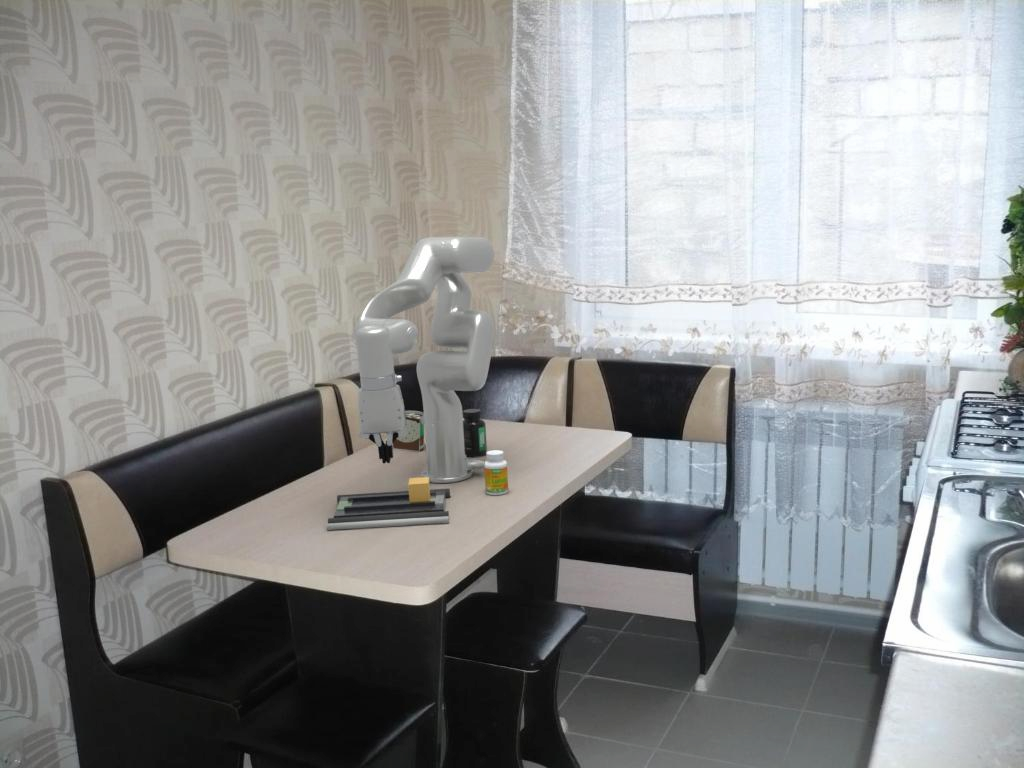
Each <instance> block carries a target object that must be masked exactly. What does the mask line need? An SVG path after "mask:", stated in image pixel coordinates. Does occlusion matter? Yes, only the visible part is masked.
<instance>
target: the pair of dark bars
mask: <svg viewBox="0 0 1024 768" xmlns="http://www.w3.org/2000/svg"><path fill="white" fill-rule="evenodd" d="M450 489H451V488H449V487H448V488H436V489H435V488H433V489H430V492H433V491H445V496H446V498H451V491H450ZM400 493H409V490H403V491H402V490H400V491H385V492H368V493H356V494H355V493H353V494H351V493H350V494H337V495H336V496H337V497H336V498H337V499H336V502H337V505H338V504H339V501H340V498H341V497H350V496H367V495H383V494H400ZM449 523H450V513H449V510H445V511H439V512H423V513H406V514H390V515H373V516H357V517H340V518H334V517H328V518H327V523H326V530H327V531H336V530H352V529H353V530H354V529H355V530H356V529H369V528H382V527H383V528H386V527H398V526H400V527H401V526H417V525H418V526H419V525H433V524H434V525H435V524H449Z"/></svg>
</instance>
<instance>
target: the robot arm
mask: <svg viewBox="0 0 1024 768" xmlns="http://www.w3.org/2000/svg"><path fill="white" fill-rule="evenodd" d="M494 249H495V248H494V246H493V244H492V243H491V241H490V240H489V239H487V238H486V237H484V236H482V237H481V236H475V237H474V236H473V237H469V236H468V237H466V236H438V237H437V236H432V237H431V236H430V237H425V238H422V239H420V240H419V241H418V242H416V244H415V245H414V247H413V248H412V250H411V253H410V255H409V257H408V259H407V261H406V263H405V265H404V267H403V269H402V271H401V273H400V274H399V277H398V279H397V280H396V281H395V282H394V283H392V284H390V285H389V286H387V287H386V288H384V289H383V290H382V291H380V292H379V293H378V294H376V295H375V296H374V297H373V298H372V299H370V300H369V301H368V302H367V304H366V305H365V306H364V308H363V310H362V312H361V315H360V316H359V319H358V321H357V323H356V326H355V330H354V340H355V344H356V351H357V361H358V363H357V364H358V371H359V377H360V379H359V380H360V388H358V393H357V396H358V397H357V412H358V414H357V415H358V416H357V417H358V425H359V426H358V427H359V438H360V439H362V440H370V441H371V442H372V443H373V444H375V445H376V446H377V448H378V449H377V450H378V458H379V460H382V461H381V462H382V464H383V465H385V464H386V463H387V464H390V463H391V460H392V459H393V458H394V451H393V450H394V449H393V446H392V443H393V442H394V441H395V440H396V439H397V438H398V437H400V436H403V435H406V434H407V433H408V430H407V427H406V417H405V411H406V409H405V404H404V403H405V402H404V399H403V393H402V391H401V386H400V385H399V384H397V383H399V382H402V379H403V378H402V375H401V374H400V375H399V374H396V373H395V365H394V359H393V358H394V357H393V356H394V355H396V354H397V355H398V354H403V353H407V352H409V351H411V350H412V349H413V348H414V347H415V346H416V345H417V342H418V341H419V330H418V327H417V325H416V324H415V323H414V322H412V321H411V320H409V319H406V318H405V319H404V318H392V317H394V316H395V315H398V314H400V313H402V312H405V311H408V310H411V309H414V308H416V307H418V306H421V305H424V304H425V303H427V302H428V301H429V300H430V299H431V296H432V295H433V292H434V290H435V288H436V286H437V297H436V302H435V308H434V311H433V312H434V313H433V318H432V323H431V328H430V338H431V339H430V340H431V342H432V343H433V345H435V346H437V347H440V348H443V349H444V348H446V349H465V350H466V349H467V351H458V350H456V351H455V350H432V351H428V352H426V353H423V354H422V355H421V356H420V357H419V359H418V360H417V363H416V375H417V376H416V377H417V381H418V384H419V388H420V393H421V399H422V407H423V413H424V441H425V450H426V451H425V453H426V467H427V468H426V469H425V470H423V471H421V477H429V483H436V484H437V483H439V484H440V483H441V484H444V483H445V484H446V483H456V482H462V481H464V480H466V479H467V480H468V479H469V478H471V477H472V476H473V470H472V469H477V470H478V469H484V463H485V462H484V460H479V458H478V459H469V458H468V457H466V455H465V448H464V431H463V420H464V418H463V406H462V403H461V400H460V398H459V396H458V395H457V393H456V391H458V392H459V391H461V392H475V391H479V390H481V389H482V388H483V387H484V386H485V384H486V381H487V378H488V374H489V369H490V363H491V357H492V353H493V346H494V343H495V333H496V332H495V331H496V330H495V324H494V319H493V318H492V315H491V314H489V312H487V311H485V310H480V309H471V303H472V298H473V296H472V291H471V288H470V286H469V285H468V282H467V281H466V280H465V279H464V278H463V276H462V275H461V273H463V274H464V273H468V274H469V273H471V274H474V273H484V272H487V271H488V270H489V269H491V267H492V266H493V263H494V259H495V250H494ZM382 434H386V440H385V441H384V440H383V437H382Z"/></svg>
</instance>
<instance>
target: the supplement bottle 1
mask: <svg viewBox="0 0 1024 768" xmlns="http://www.w3.org/2000/svg"><path fill="white" fill-rule="evenodd" d="M462 413H463V431H464V448H465V455H466V457H467V458H481V457H484V456H485V455H486V453H487V452H488V443H487V425H486V422H485V420H484V419H482V415H483V414H482V410H481V409H480V408H468V409H464V410H462Z"/></svg>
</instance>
